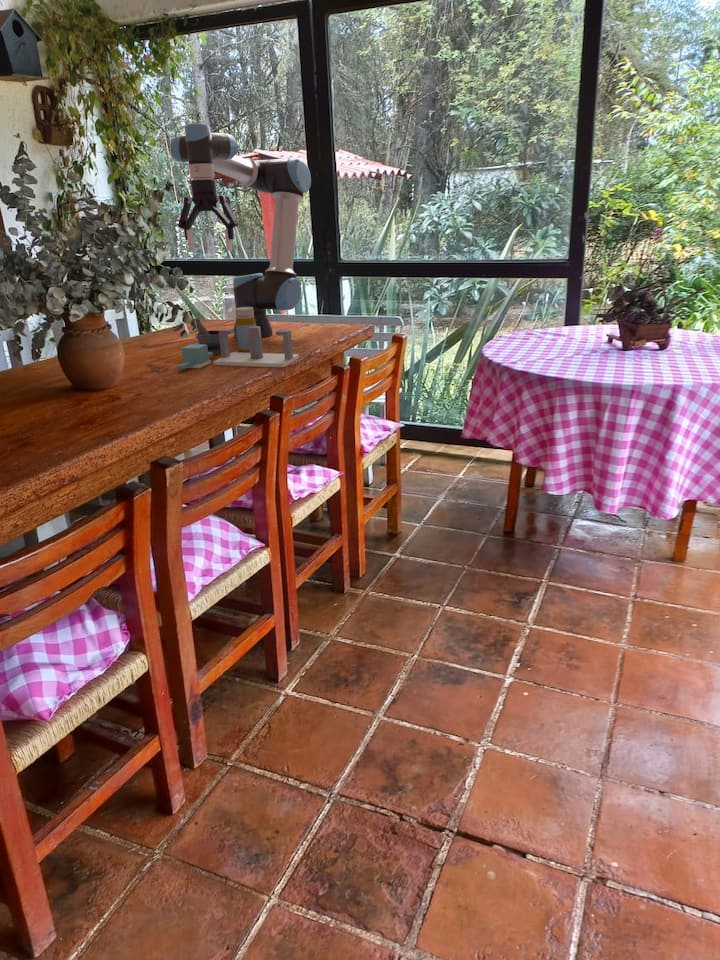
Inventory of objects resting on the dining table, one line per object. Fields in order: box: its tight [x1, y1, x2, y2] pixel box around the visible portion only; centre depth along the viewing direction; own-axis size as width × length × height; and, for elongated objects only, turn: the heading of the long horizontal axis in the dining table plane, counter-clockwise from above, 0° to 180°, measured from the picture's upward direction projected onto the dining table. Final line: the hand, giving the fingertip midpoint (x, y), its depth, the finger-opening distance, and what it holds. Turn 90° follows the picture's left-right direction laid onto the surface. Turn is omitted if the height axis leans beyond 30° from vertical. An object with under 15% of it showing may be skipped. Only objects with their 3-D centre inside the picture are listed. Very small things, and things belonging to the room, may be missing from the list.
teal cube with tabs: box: [178, 343, 214, 370], centre depth 227 cm, size 6×19×5 cm, turn 163°
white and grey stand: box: [213, 326, 300, 368], centre depth 228 cm, size 14×24×11 cm, turn 73°
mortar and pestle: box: [195, 317, 221, 355], centre depth 244 cm, size 11×9×12 cm
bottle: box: [234, 307, 256, 353], centre depth 243 cm, size 7×7×15 cm
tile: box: [187, 359, 212, 369], centre depth 228 cm, size 8×6×1 cm
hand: (210, 250), depth 225 cm, fingers open, 13 cm apart
